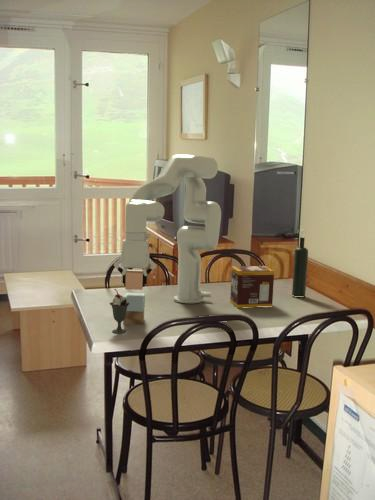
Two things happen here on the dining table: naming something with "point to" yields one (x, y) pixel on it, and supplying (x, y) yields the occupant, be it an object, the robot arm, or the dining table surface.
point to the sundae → (119, 311)
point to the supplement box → (251, 286)
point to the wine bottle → (300, 268)
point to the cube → (134, 279)
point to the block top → (135, 301)
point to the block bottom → (134, 317)
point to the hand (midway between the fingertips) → (134, 285)
